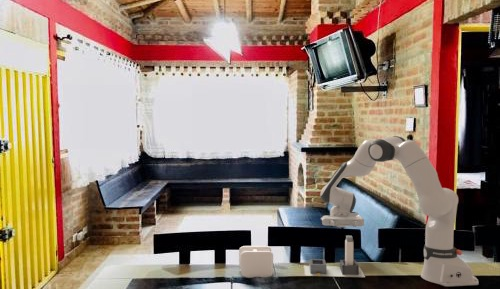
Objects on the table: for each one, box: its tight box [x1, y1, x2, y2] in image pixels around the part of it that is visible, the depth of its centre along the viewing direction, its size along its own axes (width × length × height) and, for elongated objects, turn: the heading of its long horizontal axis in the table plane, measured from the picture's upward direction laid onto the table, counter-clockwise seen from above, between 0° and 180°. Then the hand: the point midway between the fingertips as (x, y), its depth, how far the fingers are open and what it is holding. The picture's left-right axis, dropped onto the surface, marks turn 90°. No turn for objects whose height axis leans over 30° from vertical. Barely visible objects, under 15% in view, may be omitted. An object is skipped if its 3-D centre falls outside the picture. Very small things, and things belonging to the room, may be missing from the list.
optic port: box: [308, 258, 327, 274], centre depth 186 cm, size 7×8×4 cm
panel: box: [303, 259, 366, 278], centre depth 186 cm, size 26×13×5 cm, turn 85°
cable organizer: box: [238, 245, 274, 279], centre depth 185 cm, size 15×11×12 cm
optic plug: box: [344, 235, 354, 265], centre depth 185 cm, size 3×4×16 cm
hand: (344, 224), depth 197 cm, fingers open, 8 cm apart
